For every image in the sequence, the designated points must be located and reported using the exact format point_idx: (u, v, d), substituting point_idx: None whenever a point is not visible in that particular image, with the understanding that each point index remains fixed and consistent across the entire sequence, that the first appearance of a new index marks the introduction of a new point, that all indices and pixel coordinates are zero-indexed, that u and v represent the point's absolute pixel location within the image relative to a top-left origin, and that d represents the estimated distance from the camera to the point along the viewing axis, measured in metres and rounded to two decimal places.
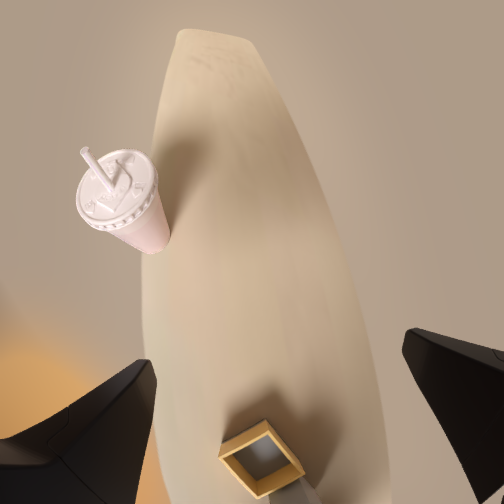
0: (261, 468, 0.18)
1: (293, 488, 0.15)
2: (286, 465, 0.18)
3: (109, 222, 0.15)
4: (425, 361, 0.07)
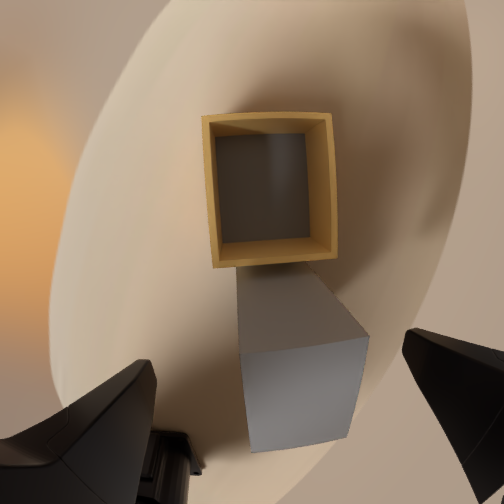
0: (247, 218, 0.12)
1: (300, 279, 0.10)
2: (291, 238, 0.13)
3: None
4: (425, 361, 0.07)
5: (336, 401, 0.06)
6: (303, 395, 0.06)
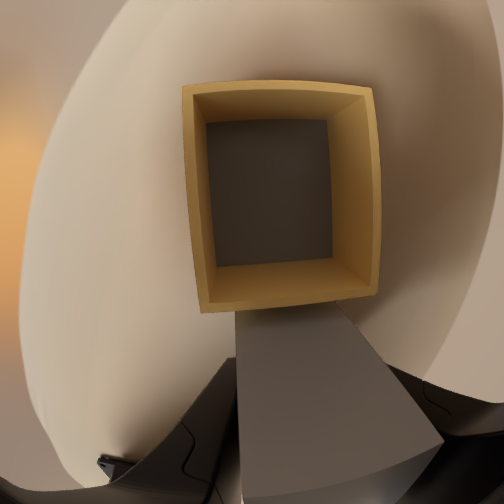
0: (250, 234, 0.09)
1: (327, 326, 0.07)
2: (308, 259, 0.09)
3: None
4: None
5: None
6: None
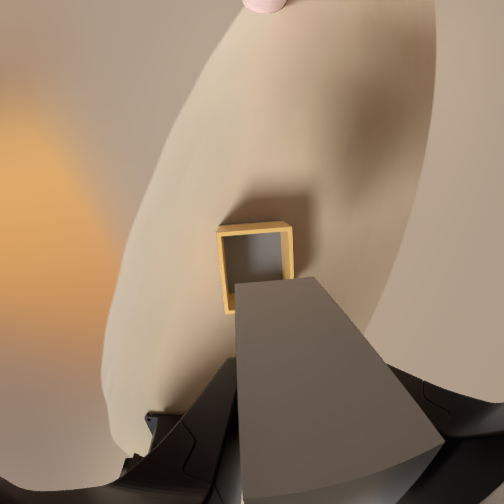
0: (244, 279, 0.20)
1: (327, 326, 0.07)
2: None
3: None
4: None
5: None
6: None
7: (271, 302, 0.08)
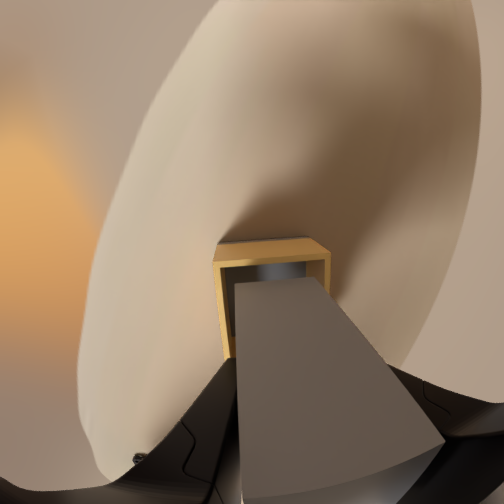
0: None
1: (327, 326, 0.06)
2: None
3: None
4: None
5: None
6: None
7: (271, 302, 0.08)
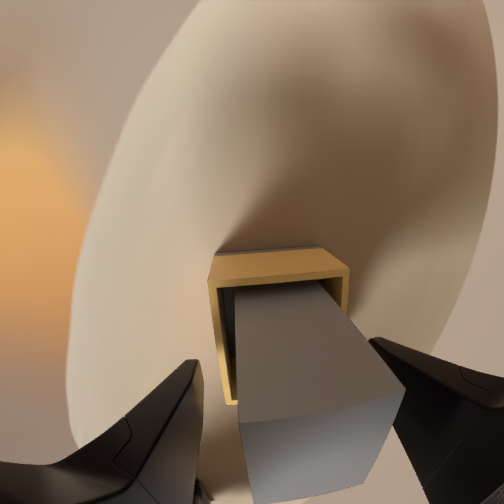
0: None
1: (312, 303, 0.08)
2: None
3: None
4: None
5: (356, 456, 0.04)
6: (318, 456, 0.04)
7: (265, 285, 0.10)
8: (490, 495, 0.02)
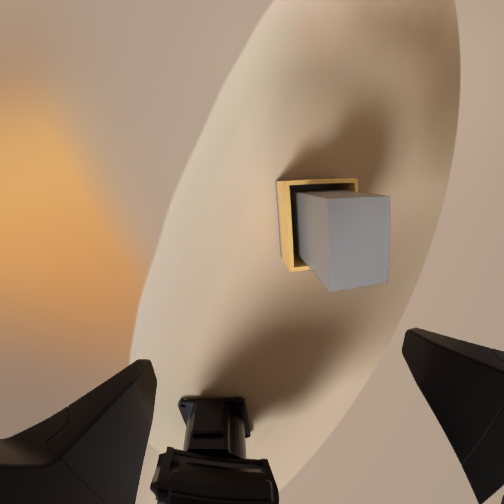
0: None
1: (340, 191, 0.15)
2: None
3: None
4: (425, 361, 0.07)
5: (378, 242, 0.11)
6: (360, 233, 0.11)
7: (312, 191, 0.16)
8: None
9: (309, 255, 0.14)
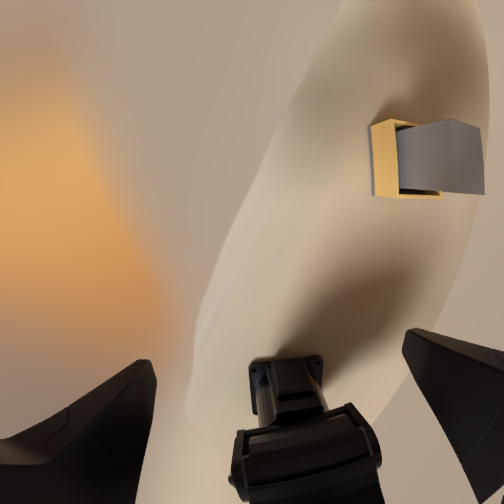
0: None
1: None
2: (410, 192, 0.19)
3: None
4: (425, 361, 0.07)
5: (477, 159, 0.10)
6: (468, 149, 0.10)
7: None
8: None
9: (419, 177, 0.14)
